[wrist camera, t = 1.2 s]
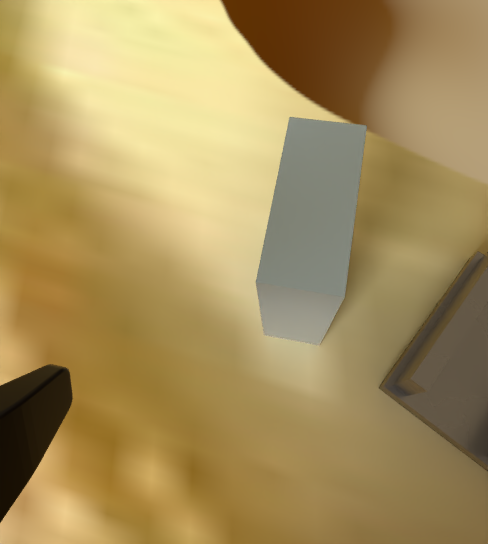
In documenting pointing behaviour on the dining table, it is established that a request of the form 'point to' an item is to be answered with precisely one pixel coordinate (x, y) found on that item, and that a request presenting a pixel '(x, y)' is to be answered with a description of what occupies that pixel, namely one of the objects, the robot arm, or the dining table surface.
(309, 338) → the tall grey-blue box
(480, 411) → the dish rack
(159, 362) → the dining table surface
